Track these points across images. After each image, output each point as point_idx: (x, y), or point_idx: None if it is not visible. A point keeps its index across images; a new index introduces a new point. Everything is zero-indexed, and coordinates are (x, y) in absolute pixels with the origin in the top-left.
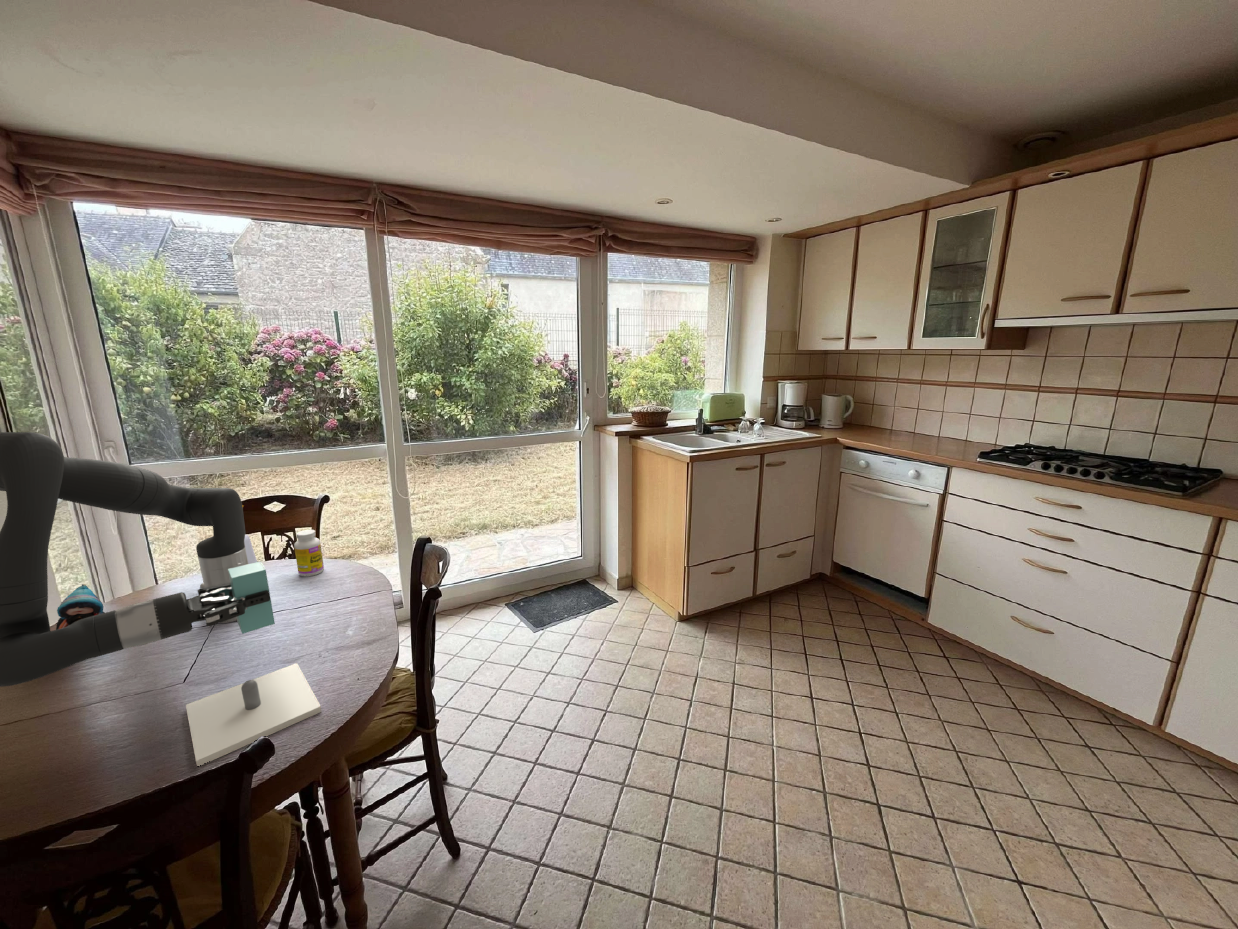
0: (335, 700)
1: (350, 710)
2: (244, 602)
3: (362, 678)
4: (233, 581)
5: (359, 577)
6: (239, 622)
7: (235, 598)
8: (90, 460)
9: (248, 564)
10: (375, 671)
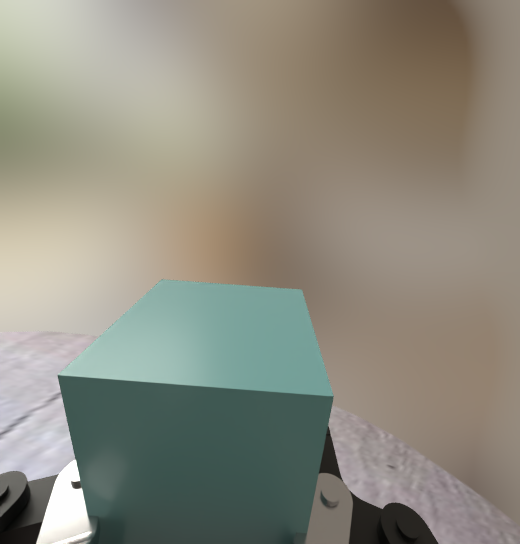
0: (462, 533)
1: (508, 520)
2: (371, 505)
3: (392, 461)
4: (327, 420)
5: (40, 344)
6: None
7: (317, 536)
8: None
9: (140, 302)
10: (378, 437)
